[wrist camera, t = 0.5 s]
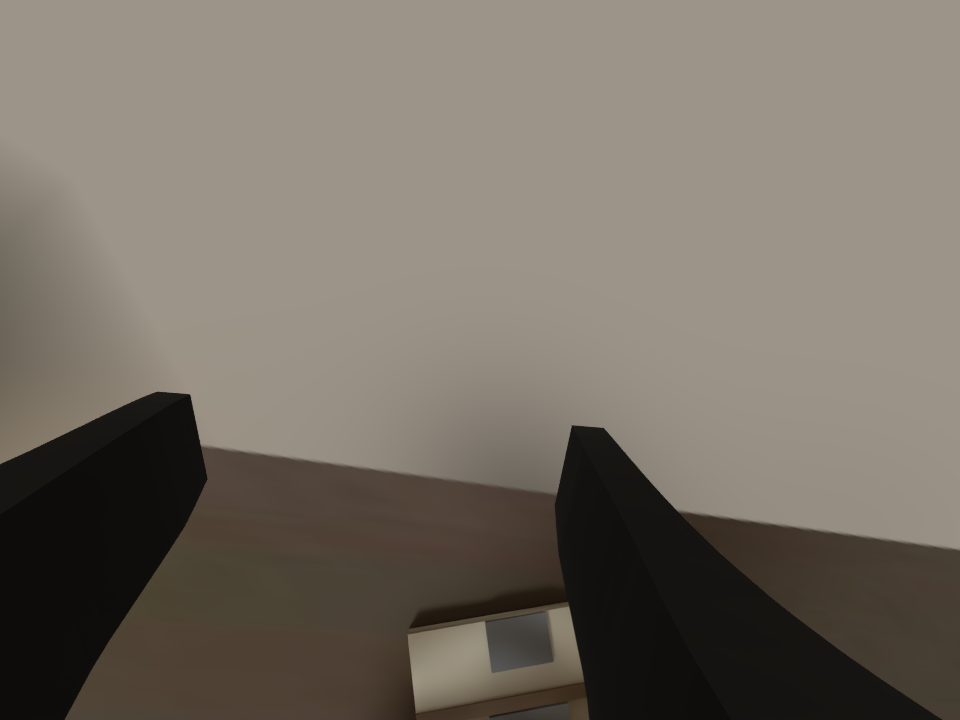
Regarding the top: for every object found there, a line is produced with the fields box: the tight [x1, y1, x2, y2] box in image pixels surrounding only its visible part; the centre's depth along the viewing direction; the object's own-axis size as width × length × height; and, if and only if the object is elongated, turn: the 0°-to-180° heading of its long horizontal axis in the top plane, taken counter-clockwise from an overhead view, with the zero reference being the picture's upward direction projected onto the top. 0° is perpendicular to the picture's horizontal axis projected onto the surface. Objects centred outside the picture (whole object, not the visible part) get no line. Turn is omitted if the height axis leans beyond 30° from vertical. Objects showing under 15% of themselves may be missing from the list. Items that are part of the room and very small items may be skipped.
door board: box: [408, 602, 589, 720], centre depth 34 cm, size 12×21×2 cm, turn 98°
